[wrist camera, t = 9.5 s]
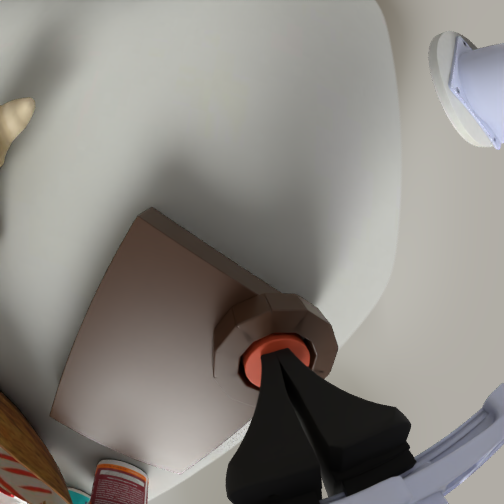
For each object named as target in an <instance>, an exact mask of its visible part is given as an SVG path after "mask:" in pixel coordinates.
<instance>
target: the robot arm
mask: <svg viewBox="0 0 504 504" xmlns="http://www.w3.org/2000/svg"><path fill="white" fill-rule="evenodd" d="M448 86H449V89H450V90H451V92H452V93H453V94H454V95H455V96H456V97H457V98H458V100H459V101H460V102H461V103H462V104H463V105H464V107H465V108H466V109H467V110H468V111H469V113H470V114H471V115H472V116H473V118H474V119H475V120H476V122H477V123H478V124H479V126H480V127H481V128H482V130H483V131H484V132H485V134H486V135H487V137H488V138H489V140H490V141H491V142H492V144H493V145H494V147H495V148H496V149H497V150H499V149H500V147H501V143H504V43H501V44H496V45H492V46H487V47H483V48H479V49H475V50H472V49H471V48H470V47H469V45H468V44H467V43H466V42H465V41H464V40H463V39H462V37H460V36H457V37H456V41H455V49H454V56H453V62H452V67H451V73H450V78H449V83H448ZM260 358H261V367H262V370H261V383H260V390H259V395H258V400H257V404H256V408H255V412H254V415H253V418H252V420H251V423H250V426H249V428H248V430H247V433H246V435H245V437H244V439H243V441H242V443H241V445H240V447H239V448H238V450H237V452H236V453H235V455H234V456H233V458H232V459H231V461H230V462H229V464H228V468H227V474H226V492H227V497H228V499H229V500H230V501H231V502H232V503H233V504H449V503H448V502H447V500H446V499H445V497H444V496H445V495H446V494H448V493H449V492H450V491H452V490H453V489H455V488H456V487H457V486H458V485H460V484H461V483H462V482H463V481H465V480H466V479H467V478H468V477H469V476H470V475H472V474H473V473H474V472H475V471H476V470H477V469H478V468H480V466H482V465H483V464H484V463H485V462H486V461H487V460H488V459H489V458H490V457H491V456H492V455H493V454H494V453H495V452H496V451H497V450H498V449H499V448H500V447H501V446H502V445H503V444H504V383H502V384H501V385H499V386H498V387H497V388H496V390H494V391H493V392H492V393H491V394H490V395H489V396H488V398H487V399H486V401H485V402H484V405H483V407H482V408H481V409H480V410H479V411H478V412H477V413H475V414H474V415H473V416H472V417H471V418H469V419H468V420H467V421H466V422H464V423H463V424H462V425H461V426H459V427H458V428H457V429H455V430H454V431H453V432H451V433H450V434H449V435H447V436H446V437H444V438H443V439H442V440H441V441H439V442H437V443H436V444H434V445H433V446H431V447H430V448H428V449H427V450H425V451H424V452H422V453H420V454H419V455H417V456H415V457H413V455H412V454H411V452H410V451H409V449H410V446H409V445H408V443H407V442H406V439H407V437H408V434H409V432H410V429H411V423H410V422H409V420H408V419H407V418H406V416H404V414H403V413H402V412H400V411H399V410H398V409H397V408H396V407H391V406H387V405H381V404H377V403H374V402H370V401H367V400H364V399H362V398H359V397H357V396H354V395H352V394H349V393H347V392H345V391H343V390H341V389H339V388H338V387H336V386H334V385H332V384H331V383H329V382H327V381H326V380H324V379H323V378H322V377H320V376H319V375H317V374H316V373H315V372H313V371H312V370H311V369H310V368H309V367H307V366H306V365H305V364H304V363H303V362H302V361H301V360H300V359H298V358H297V357H296V356H295V354H294V353H293V352H292V351H291V350H290V349H289V348H285V349H281V350H278V351H274V352H271V353H267V354H264V355H262V356H261V357H260ZM321 478H322V480H323V483H324V486H325V489H326V492H327V494H328V498H325V499H322V492H321V489H322V482H321Z"/></svg>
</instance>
